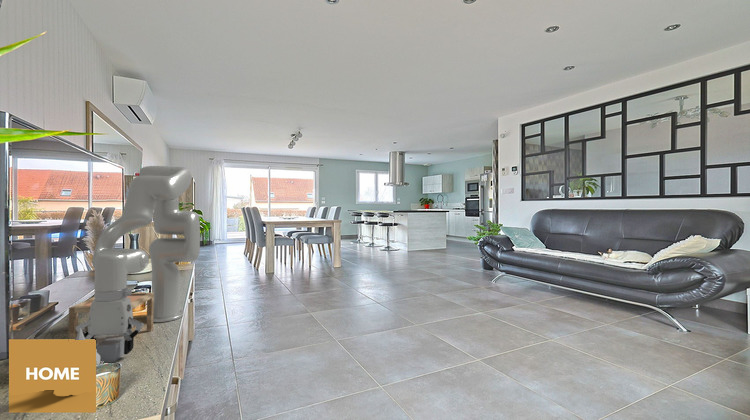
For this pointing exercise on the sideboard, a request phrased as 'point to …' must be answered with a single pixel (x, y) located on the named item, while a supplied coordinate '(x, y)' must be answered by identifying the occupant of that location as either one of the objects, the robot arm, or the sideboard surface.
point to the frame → (83, 309)
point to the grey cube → (111, 349)
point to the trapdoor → (127, 297)
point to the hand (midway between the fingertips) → (109, 353)
